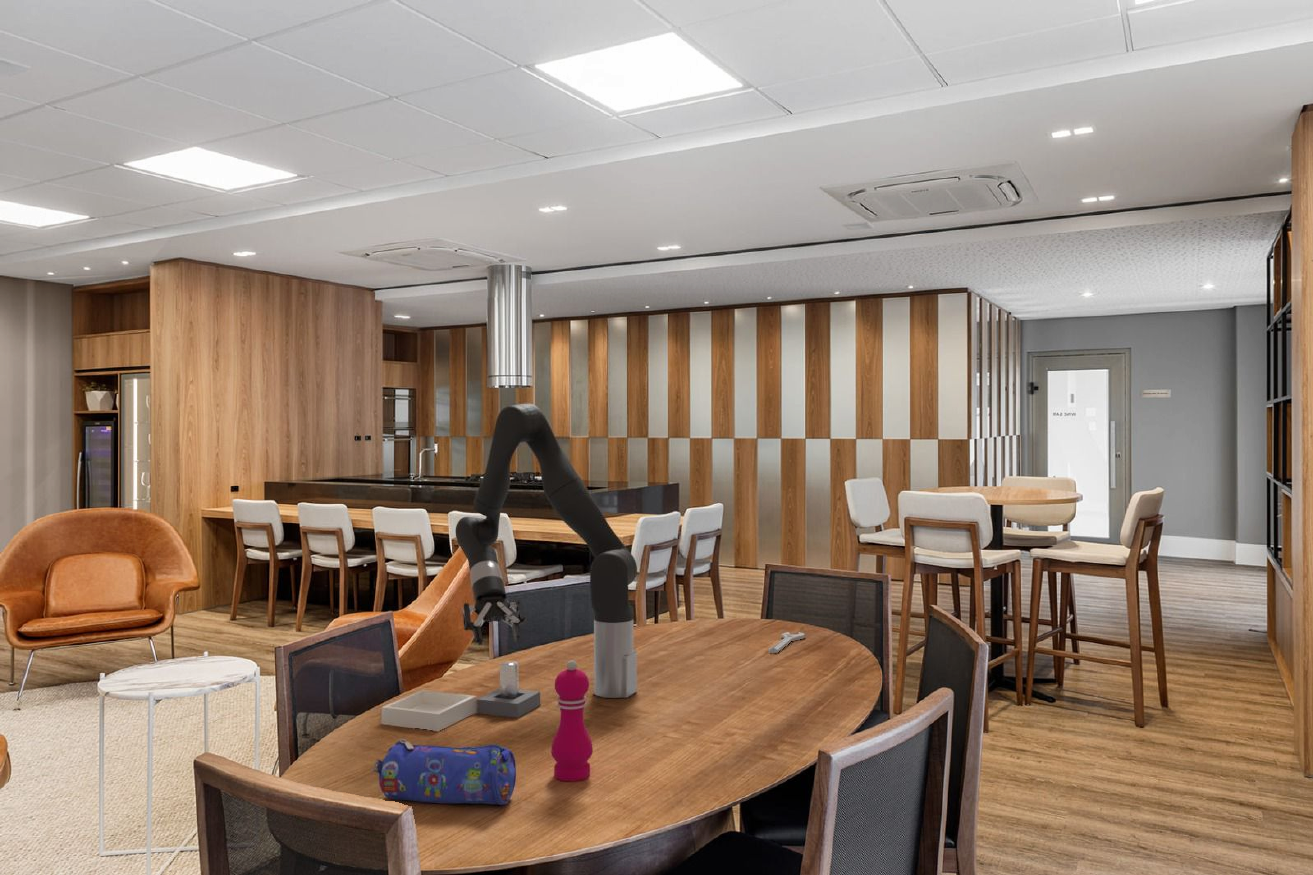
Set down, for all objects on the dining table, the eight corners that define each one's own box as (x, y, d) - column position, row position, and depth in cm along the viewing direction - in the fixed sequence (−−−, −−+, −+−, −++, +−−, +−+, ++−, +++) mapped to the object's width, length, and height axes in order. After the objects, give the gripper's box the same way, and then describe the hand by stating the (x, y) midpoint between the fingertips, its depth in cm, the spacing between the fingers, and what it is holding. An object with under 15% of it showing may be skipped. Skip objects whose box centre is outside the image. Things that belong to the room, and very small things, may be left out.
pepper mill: (552, 768, 159) (551, 656, 159) (592, 767, 159) (592, 655, 160) (550, 783, 152) (550, 666, 152) (593, 782, 152) (592, 665, 152)
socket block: (540, 705, 198) (540, 691, 198) (517, 718, 188) (517, 703, 188) (501, 700, 201) (501, 687, 201) (477, 713, 192) (477, 699, 192)
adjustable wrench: (776, 656, 246) (776, 650, 246) (754, 654, 249) (754, 647, 249) (806, 638, 268) (806, 632, 268) (786, 636, 271) (786, 630, 271)
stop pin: (521, 707, 196) (521, 662, 196) (512, 712, 192) (512, 666, 192) (505, 705, 198) (505, 660, 198) (496, 710, 194) (496, 664, 194)
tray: (476, 712, 193) (476, 696, 193) (438, 731, 180) (438, 714, 180) (422, 705, 198) (422, 690, 198) (381, 724, 185) (381, 707, 185)
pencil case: (371, 807, 142) (371, 747, 142) (395, 786, 151) (395, 730, 151) (503, 815, 139) (503, 754, 139) (520, 794, 148) (520, 736, 148)
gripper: (460, 576, 209) (470, 634, 198) (519, 573, 214) (532, 629, 204) (455, 595, 213) (465, 653, 203) (513, 591, 219) (526, 647, 208)
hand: (499, 641), depth 203 cm, fingers open, 8 cm apart
